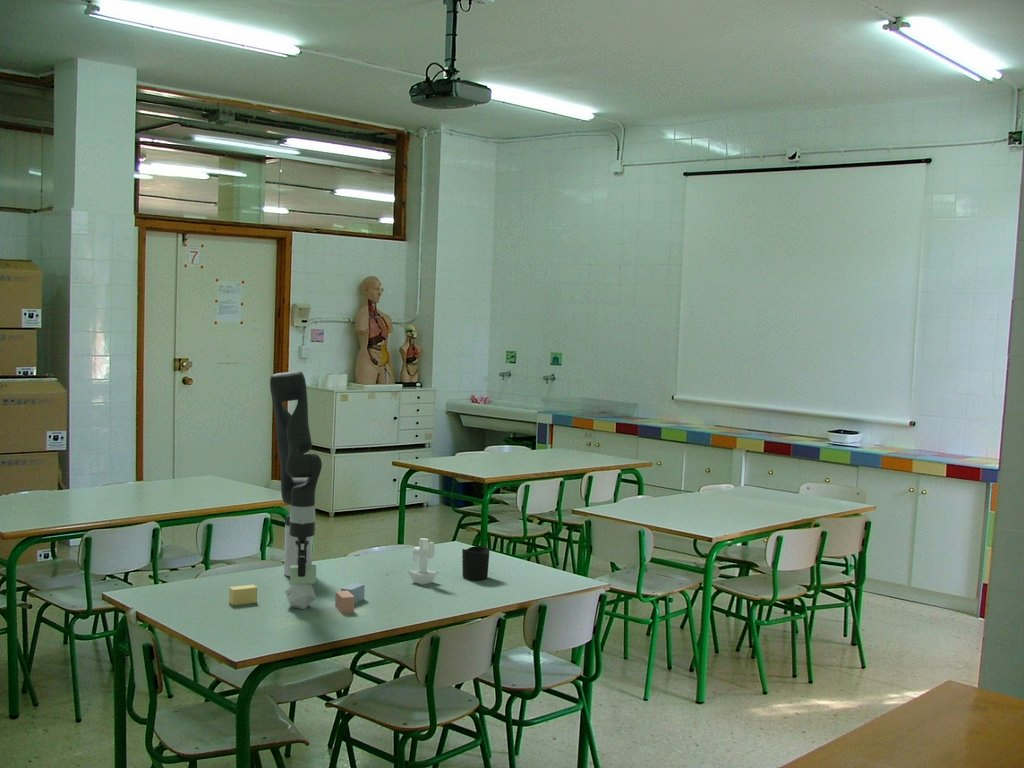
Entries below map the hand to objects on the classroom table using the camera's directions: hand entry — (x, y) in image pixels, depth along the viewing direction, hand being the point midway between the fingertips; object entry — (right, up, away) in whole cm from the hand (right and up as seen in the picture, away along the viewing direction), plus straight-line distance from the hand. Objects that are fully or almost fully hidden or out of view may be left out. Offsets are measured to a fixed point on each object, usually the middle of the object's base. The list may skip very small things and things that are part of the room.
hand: (301, 573), depth 303 cm
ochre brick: (-19, -10, +3) cm, 21 cm away
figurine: (+34, -10, +35) cm, 50 cm away
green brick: (0, -3, 0) cm, 3 cm away
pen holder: (+51, -10, +44) cm, 68 cm away
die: (0, -11, +1) cm, 11 cm away
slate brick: (+14, -11, +9) cm, 20 cm away
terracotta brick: (+13, -11, 0) cm, 17 cm away
